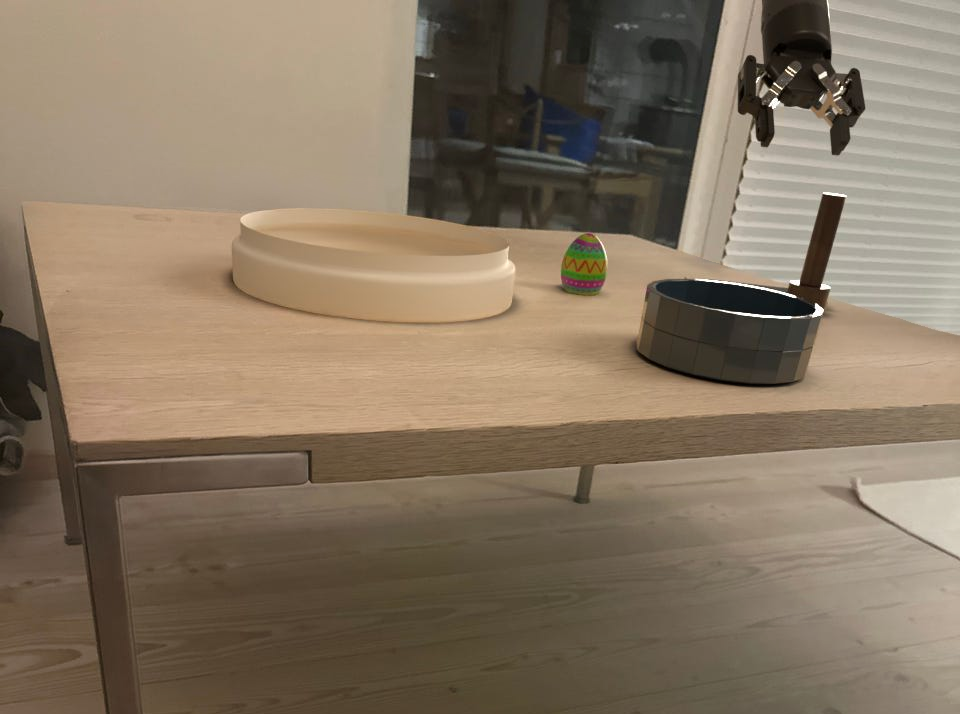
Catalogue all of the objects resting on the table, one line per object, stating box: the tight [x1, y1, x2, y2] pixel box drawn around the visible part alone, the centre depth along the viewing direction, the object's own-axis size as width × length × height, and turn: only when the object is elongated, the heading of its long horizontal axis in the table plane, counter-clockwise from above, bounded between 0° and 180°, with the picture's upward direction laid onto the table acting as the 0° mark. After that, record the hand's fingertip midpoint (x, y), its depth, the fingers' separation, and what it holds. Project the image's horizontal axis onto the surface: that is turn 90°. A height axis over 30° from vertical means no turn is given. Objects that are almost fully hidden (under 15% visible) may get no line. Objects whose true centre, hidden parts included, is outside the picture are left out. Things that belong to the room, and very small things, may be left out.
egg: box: [560, 232, 608, 296], centre depth 98 cm, size 5×5×6 cm
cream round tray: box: [231, 207, 516, 324], centre depth 89 cm, size 27×27×6 cm
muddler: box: [787, 192, 847, 317], centre depth 100 cm, size 4×4×12 cm
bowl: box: [635, 278, 825, 385], centre depth 77 cm, size 14×14×6 cm
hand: (804, 146), depth 104 cm, fingers open, 8 cm apart
